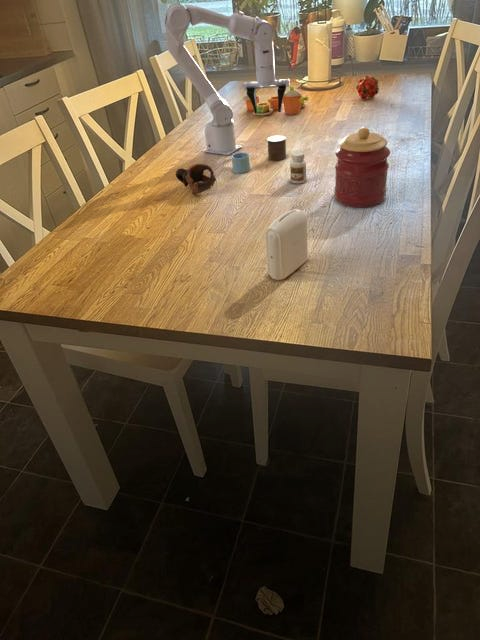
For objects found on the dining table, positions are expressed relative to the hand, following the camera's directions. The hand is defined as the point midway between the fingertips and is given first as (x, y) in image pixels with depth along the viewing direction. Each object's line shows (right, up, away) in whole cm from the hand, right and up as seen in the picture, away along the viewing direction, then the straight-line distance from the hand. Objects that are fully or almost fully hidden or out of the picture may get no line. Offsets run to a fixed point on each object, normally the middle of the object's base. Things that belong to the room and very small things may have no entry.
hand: (268, 111), depth 161 cm
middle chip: (+3, -15, -6) cm, 16 cm away
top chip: (+2, -13, -7) cm, 15 cm away
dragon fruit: (+42, +22, +40) cm, 62 cm away
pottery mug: (-21, -30, -19) cm, 42 cm away
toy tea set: (+5, +16, +37) cm, 41 cm away
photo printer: (+1, -57, -56) cm, 80 cm away
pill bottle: (+7, -28, -20) cm, 36 cm away
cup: (-9, -22, -10) cm, 26 cm away
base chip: (+3, -16, -4) cm, 17 cm away
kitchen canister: (+22, -36, -32) cm, 53 cm away
